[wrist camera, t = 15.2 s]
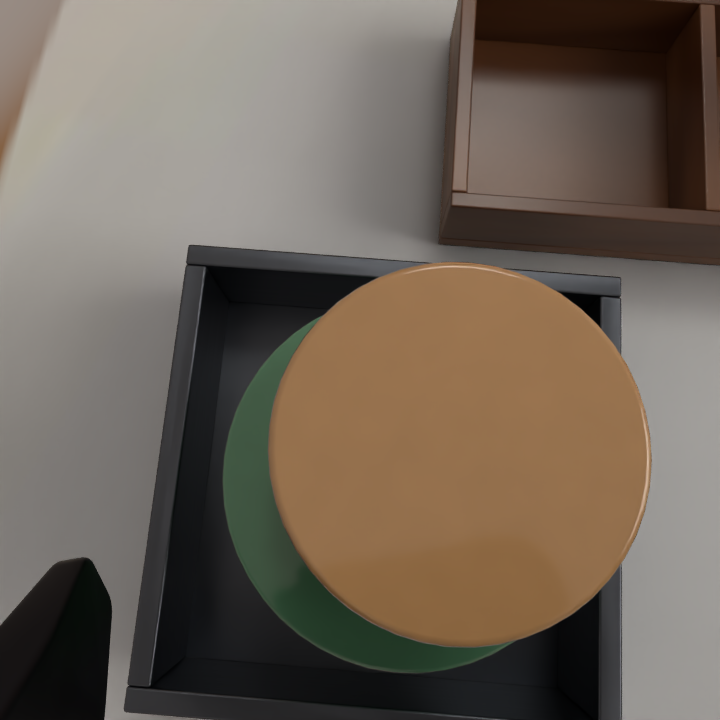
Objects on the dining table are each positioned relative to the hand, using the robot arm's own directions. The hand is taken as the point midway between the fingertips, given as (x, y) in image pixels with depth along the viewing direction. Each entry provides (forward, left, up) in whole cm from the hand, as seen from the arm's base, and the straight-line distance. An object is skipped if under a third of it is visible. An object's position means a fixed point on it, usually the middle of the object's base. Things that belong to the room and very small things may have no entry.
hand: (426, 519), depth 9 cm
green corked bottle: (+1, 0, -12) cm, 12 cm away
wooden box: (-1, -16, -13) cm, 20 cm away
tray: (+1, -1, -13) cm, 13 cm away
